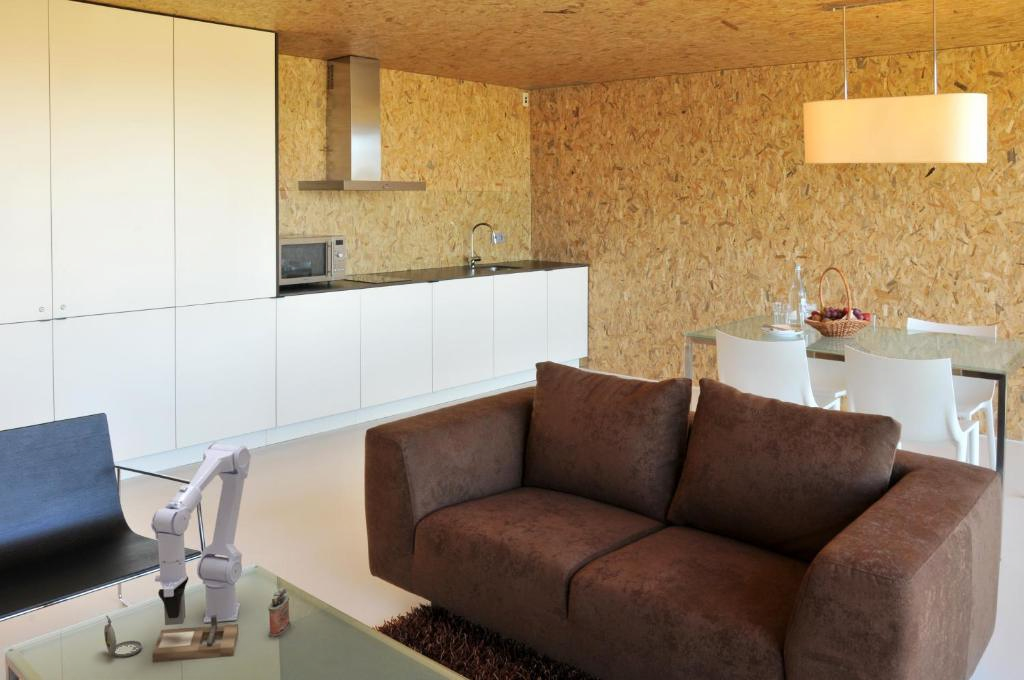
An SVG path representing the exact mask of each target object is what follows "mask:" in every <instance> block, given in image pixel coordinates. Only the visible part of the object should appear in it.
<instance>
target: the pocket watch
mask: <svg viewBox="0 0 1024 680" xmlns="http://www.w3.org/2000/svg"><path fill="white" fill-rule="evenodd" d="M106 618H107V624H106V625H104V630H103V631H104V632H103V633H104V636H103V637H104V641H105V646H106V649H107V651H108V653H109V654H112V655H113V656H115V657H129V656H132V655H135V654H137V653H139V652H140V651H141V650H142V649H143V644H142V642H140V641H137V640H126V641H121V642H119V643H117V637H116V634H115V633H116V632H115V630H114V628H113V626H112V620H111V618H109V616H108V615H107V614H106ZM123 645H124V646H127V647H128V645H134V646H136V647H133V649H132V650H136V651H130V652H131V653H126V654H117V653H115V651H116V649H118V648H119V647H122V646H123ZM130 647H132V646H130ZM136 648H138V649H136Z"/></svg>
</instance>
